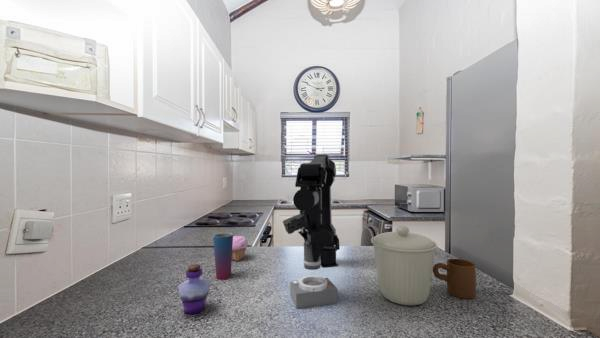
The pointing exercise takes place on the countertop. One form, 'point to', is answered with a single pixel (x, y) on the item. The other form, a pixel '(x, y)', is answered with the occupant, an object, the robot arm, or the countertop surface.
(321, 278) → the camera body
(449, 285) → the mug
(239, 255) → the cupcake
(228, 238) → the cup
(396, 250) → the canister
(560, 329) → the countertop surface
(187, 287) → the potion bottle
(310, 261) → the lens
